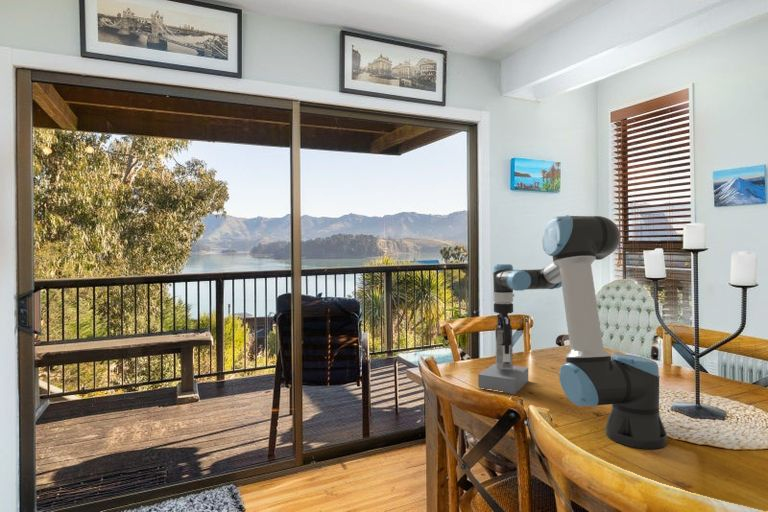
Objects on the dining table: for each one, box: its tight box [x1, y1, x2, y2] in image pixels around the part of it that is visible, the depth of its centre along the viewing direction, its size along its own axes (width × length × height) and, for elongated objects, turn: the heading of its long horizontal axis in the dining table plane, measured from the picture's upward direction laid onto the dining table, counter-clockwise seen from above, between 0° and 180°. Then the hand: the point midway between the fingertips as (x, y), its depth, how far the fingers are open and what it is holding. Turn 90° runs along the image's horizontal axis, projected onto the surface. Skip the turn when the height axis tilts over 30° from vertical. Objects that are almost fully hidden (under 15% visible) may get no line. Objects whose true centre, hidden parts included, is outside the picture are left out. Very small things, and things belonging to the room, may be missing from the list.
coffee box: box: [494, 324, 514, 369], centre depth 179 cm, size 9×6×16 cm
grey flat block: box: [477, 362, 529, 395], centre depth 179 cm, size 20×14×6 cm
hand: (503, 358), depth 179 cm, fingers closed on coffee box, 9 cm apart
